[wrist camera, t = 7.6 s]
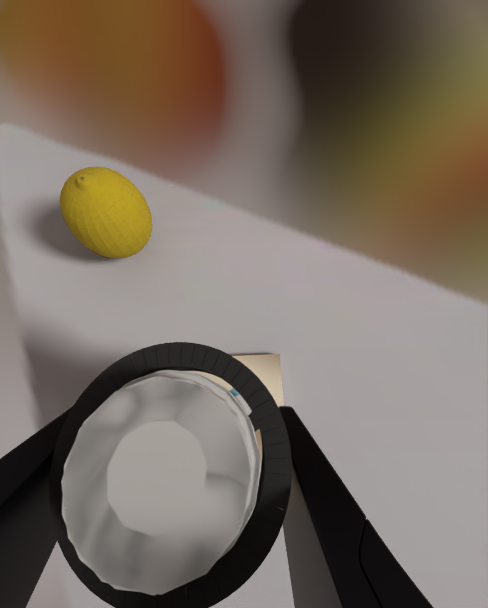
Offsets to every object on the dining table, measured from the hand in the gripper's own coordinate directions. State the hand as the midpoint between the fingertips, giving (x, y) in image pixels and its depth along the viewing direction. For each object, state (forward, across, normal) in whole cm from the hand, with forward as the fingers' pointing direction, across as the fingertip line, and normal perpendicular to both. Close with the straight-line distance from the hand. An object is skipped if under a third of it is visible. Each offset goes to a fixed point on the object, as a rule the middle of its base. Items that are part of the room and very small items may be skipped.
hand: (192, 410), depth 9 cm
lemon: (+18, +8, 0) cm, 20 cm away
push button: (+4, 0, +6) cm, 7 cm away
